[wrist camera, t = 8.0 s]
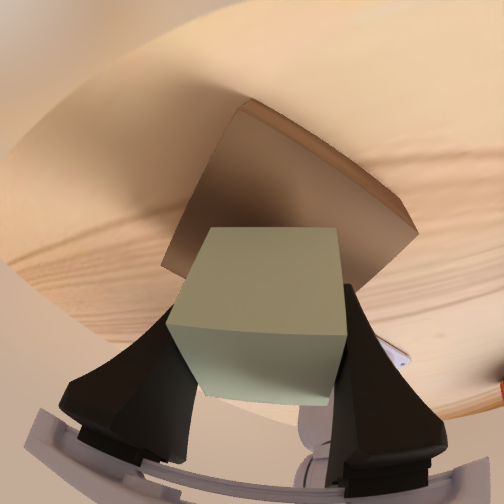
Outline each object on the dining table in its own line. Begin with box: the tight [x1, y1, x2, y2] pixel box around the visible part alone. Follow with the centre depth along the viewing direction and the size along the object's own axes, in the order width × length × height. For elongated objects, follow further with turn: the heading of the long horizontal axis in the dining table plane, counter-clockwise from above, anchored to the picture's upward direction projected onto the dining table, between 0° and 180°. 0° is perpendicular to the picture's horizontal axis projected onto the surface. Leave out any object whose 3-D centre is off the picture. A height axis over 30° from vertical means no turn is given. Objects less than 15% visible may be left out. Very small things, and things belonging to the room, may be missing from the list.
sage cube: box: [166, 227, 347, 406], centre depth 11 cm, size 5×5×5 cm
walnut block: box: [161, 98, 419, 293], centre depth 16 cm, size 10×10×4 cm
